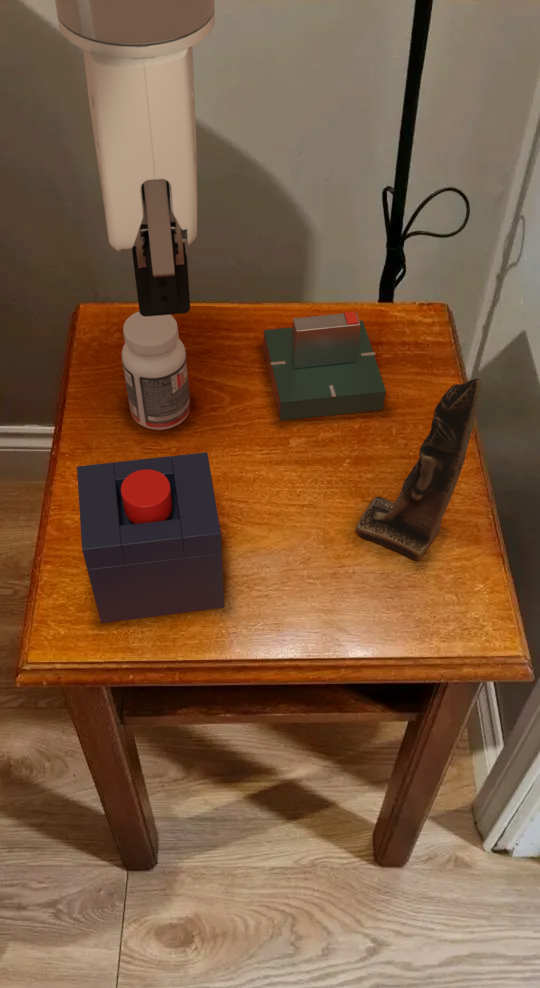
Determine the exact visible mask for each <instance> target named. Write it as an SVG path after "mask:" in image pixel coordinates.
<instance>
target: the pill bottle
mask: <svg viewBox="0 0 540 988" xmlns="http://www.w3.org/2000/svg"><path fill="white" fill-rule="evenodd" d="M122 328H123V329H122V332H123V338H124V339H123V340H124V344H123V346H122V350H121V362H122V369H123V374H124V380H125V388H126V393H127V400H128V406H129V411H130V414H131V417H132V418H133V420H134V421H135V422H136V423H137V424H138V425H139V426H142V427H143V428H146V429H148V430H152V431H153V430H154V431H164V430H170V429H172V428H175V427H177V426H179V425H181V424H182V423H183V422H184V421H185V420H186V419H187V417H188V416H189V413H190V410H191V395H190V383H189V375H188V361H187V352H186V347H185V345H184V343H183V342H182V340H181V339H180V337H179V336H180V335H179V327H178V323H177V320H176V319H175V317H174V316H173V315H160V316H148V317H144V316H142V315H141V314H140V312H139V311H136V312H134V313H133V314H131V315H129V316H128V318H127V319H126V320H125V321H124V323H123V327H122Z"/></svg>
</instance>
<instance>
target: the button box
mask: <svg viewBox="0 0 540 988" xmlns="http://www.w3.org/2000/svg"><path fill="white" fill-rule="evenodd" d="M210 465H211V464H210V460H209V454H208V452H206V451H205V452H195V453H188V454H187V453H186V454H178V455H167V456H160V457H159V456H158V457H150V458H141V459H131V460H123V461H122V460H121V461H114V462H105V463H95V464H94V463H93V464H86V465H78V466H76V475H77V491H78V492H77V493H78V507H79V508H78V509H79V523H80V540H81V551H82V555H83V558H84V563H85V567H86V571H87V575H88V578H89V582H90V585H91V589H92V593H93V597H94V601H95V605H96V609H97V612H98V616H99V620H100V623H101V624H105V623H113V622H121V621H132V620H138V619H139V620H140V619H145V618H152V617H153V618H154V617H163V616H171V615H177V614H178V615H179V614H184V613H185V614H186V613H193V612H201V611H209V610H217V609H224V608H225V596H224V573H223V571H224V570H223V550H222V549H223V548H222V531H221V525H220V520H219V513H218V507H217V501H216V496H215V490H214V484H213V478H212V472H211V466H210ZM146 469H147V470H155V471H158V472H160V473H162V474H163V475H164V476H165V477H166V478H167V479H168V481H169V483H170V489H171V498H172V511H171V513H170V515H169V517H168V518H167V519H166V520H164V521H157V522H148V523H139V524H135V523H133V522H132V521H130V520H129V519H128V518H127V516H126V514H125V511H124V505H123V500H122V495H121V485H122V483H123V481H124V480H125V478H126V477H127V476H129V475H130V474H131V473H133V472H136V471H139V470H146Z"/></svg>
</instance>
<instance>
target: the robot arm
mask: <svg viewBox="0 0 540 988" xmlns="http://www.w3.org/2000/svg"><path fill="white" fill-rule="evenodd" d="M54 2H55V9H56V15H57V23H58V27H59V30H60V32H61V34H62V36H64V37H65V38H66V39H67V41H69V43H72V45H74V46H76V47H78V48H80V49H82V50H83V59H84V70H85V71H84V72H85V79H86V88H87V95H88V105H89V112H90V119H91V126H92V127H91V128H92V134H93V140H94V146H95V153H96V160H97V161H96V162H97V167H98V168H97V169H98V175H99V182H100V188H101V194H102V195H101V196H102V203H103V209H104V216H105V224H106V231H107V238H108V244H109V246H111V247H112V248H113V249H114V250H116V252H117V251H118V252H121V251H122V250H131V253H132V262H133V270H134V278H135V286H136V295H137V301H138V302H137V303H138V310H139V312H140V314H141V315H142V316H144V317H148V316H160V315H171V316H173V315H182V314H187V313H189V312H190V310H191V297H190V282H189V281H190V280H189V267H188V266H189V265H188V255H187V252H186V245H187V246H190V245H191V244H192V243H193V242H194V241H195V240H196V238H197V237H198V155H197V154H198V153H197V149H198V148H197V123H196V122H197V121H196V98H195V97H196V96H195V76H194V75H195V73H194V56H193V55H194V54H193V47H195V46H197V44H199V43H200V42H202V41H203V40H205V39H206V38H207V37H208V36H209V35H210V34H211V32H212V30H213V28H214V27H215V23H216V8H215V7H216V4H215V3H216V0H54ZM185 242H186V244H185Z"/></svg>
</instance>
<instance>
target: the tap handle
mask: <svg viewBox="0 0 540 988" xmlns="http://www.w3.org/2000/svg"><path fill="white" fill-rule="evenodd" d="M359 321H360V319H359V316H358V312H357V311H355V310H351V311H344V312H343V313H342V312H341V313H334V314H323V315H313V316H304V317H303V316H302V317H294V318H292V326H291V327H292V347H291V358H292V361H293V365H294V368H304V367H313V366H323V365H332V364H342V363H351V362H356V356H357V348H358V341H359V333H360V322H359Z"/></svg>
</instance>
